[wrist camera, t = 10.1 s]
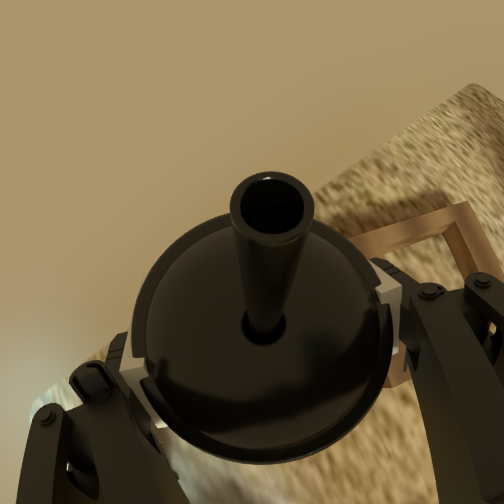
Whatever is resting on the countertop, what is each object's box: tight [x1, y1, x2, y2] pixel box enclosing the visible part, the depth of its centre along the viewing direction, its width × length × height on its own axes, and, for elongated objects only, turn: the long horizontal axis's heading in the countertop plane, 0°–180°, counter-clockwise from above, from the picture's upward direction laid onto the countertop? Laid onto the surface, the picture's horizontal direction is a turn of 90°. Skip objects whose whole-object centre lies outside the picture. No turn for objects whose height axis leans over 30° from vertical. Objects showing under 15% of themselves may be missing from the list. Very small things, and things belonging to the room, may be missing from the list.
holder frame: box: [347, 201, 504, 388], centre depth 27 cm, size 18×14×3 cm
